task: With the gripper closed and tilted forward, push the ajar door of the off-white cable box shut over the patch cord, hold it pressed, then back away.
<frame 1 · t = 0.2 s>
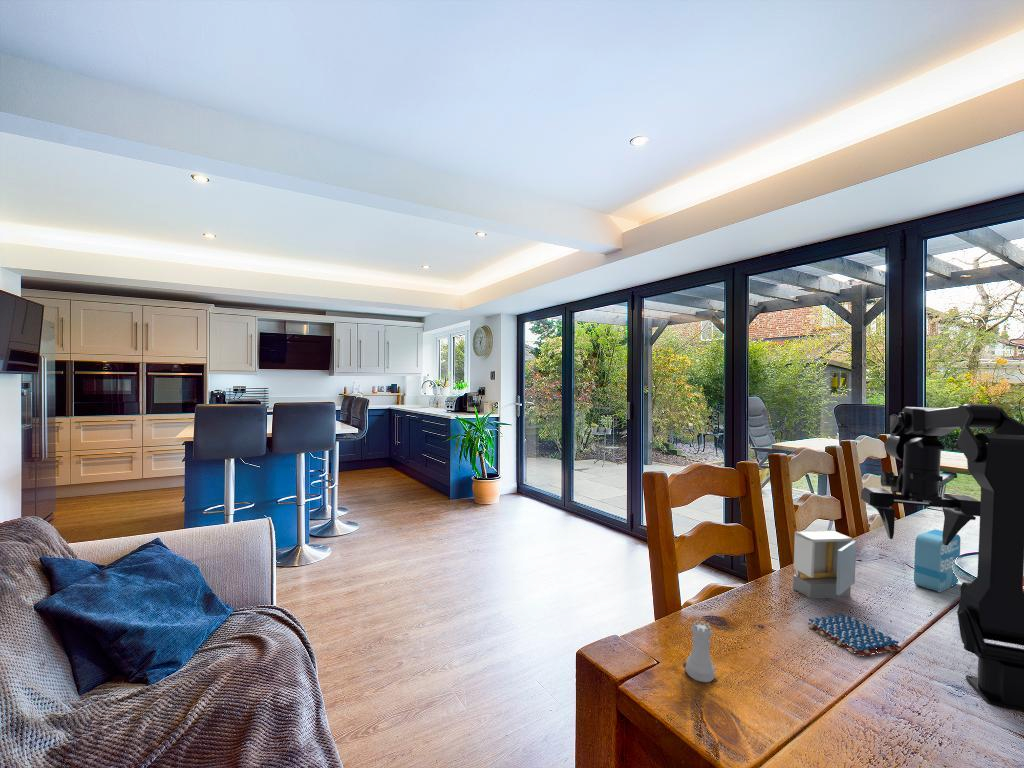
hand: (917, 541, 96), 15 cm above the table, tool pointing down, fingers open, 9 cm apart
box door: (846, 567, 98), point 8 cm above the table, hinge at 30.0°
cable box: (821, 592, 103), on the table
blue carton: (936, 585, 109), on the table
rook chess piece: (700, 675, 73), on the table
woven mat: (852, 641, 85), on the table
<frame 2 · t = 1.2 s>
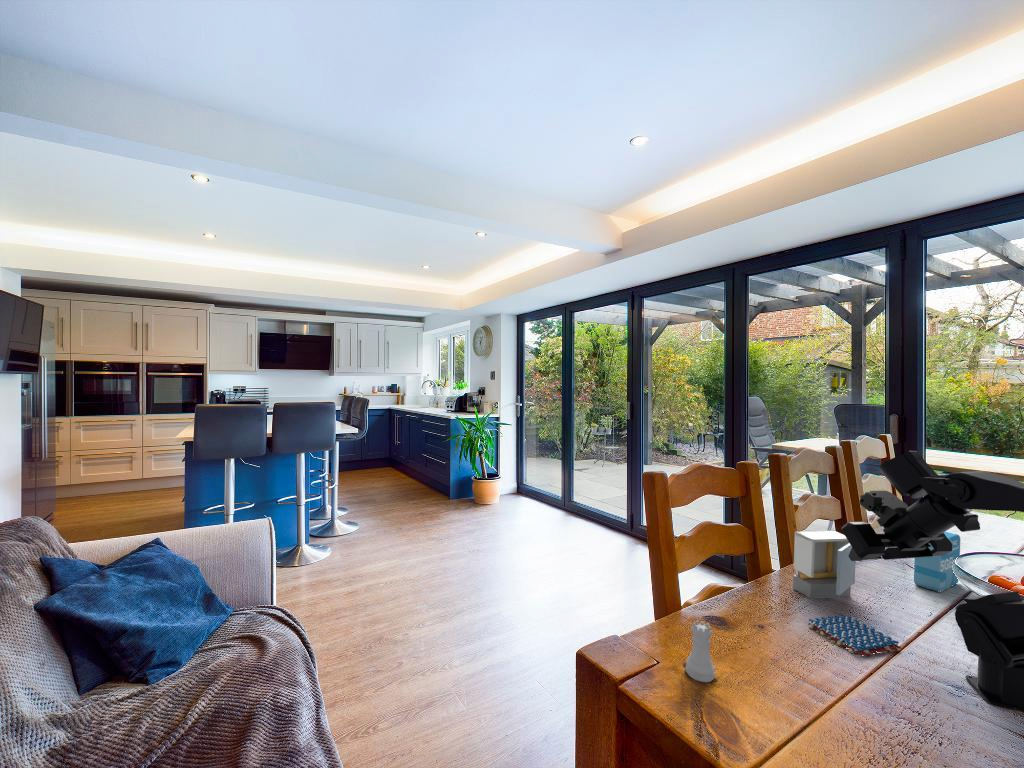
hand: (866, 557, 92), 12 cm above the table, tool tilted 45°, fingers open, 7 cm apart
nothing on the table moved.
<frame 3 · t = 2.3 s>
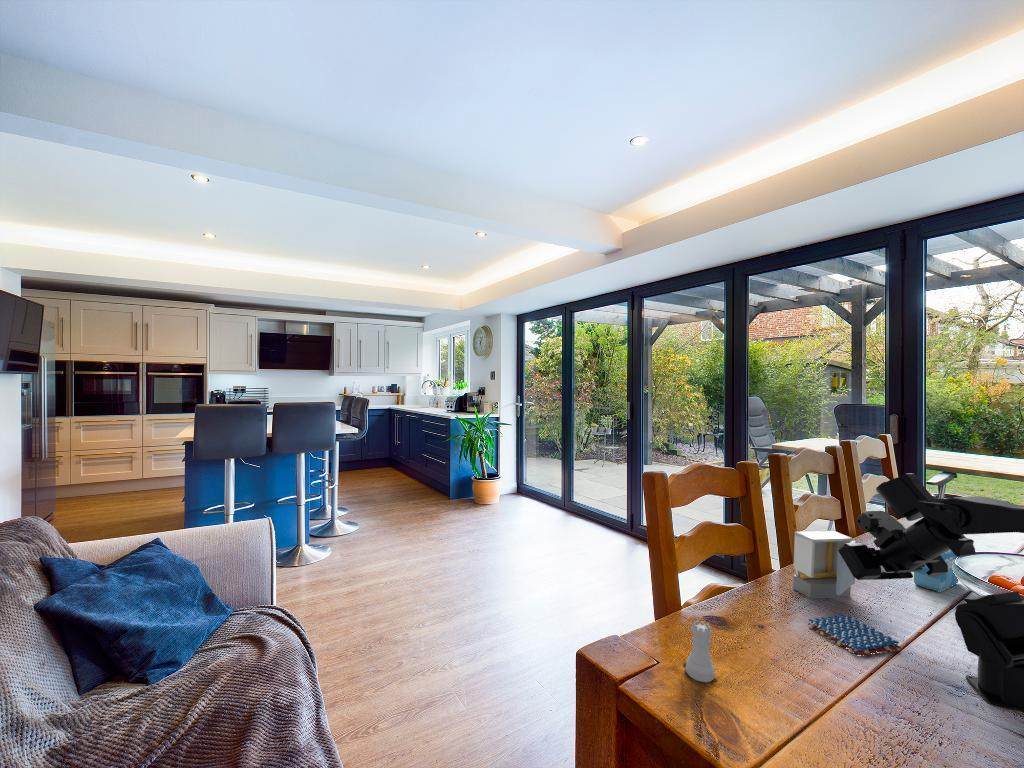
hand: (863, 577, 92), 8 cm above the table, tool tilted 45°, fingers closed
nothing on the table moved.
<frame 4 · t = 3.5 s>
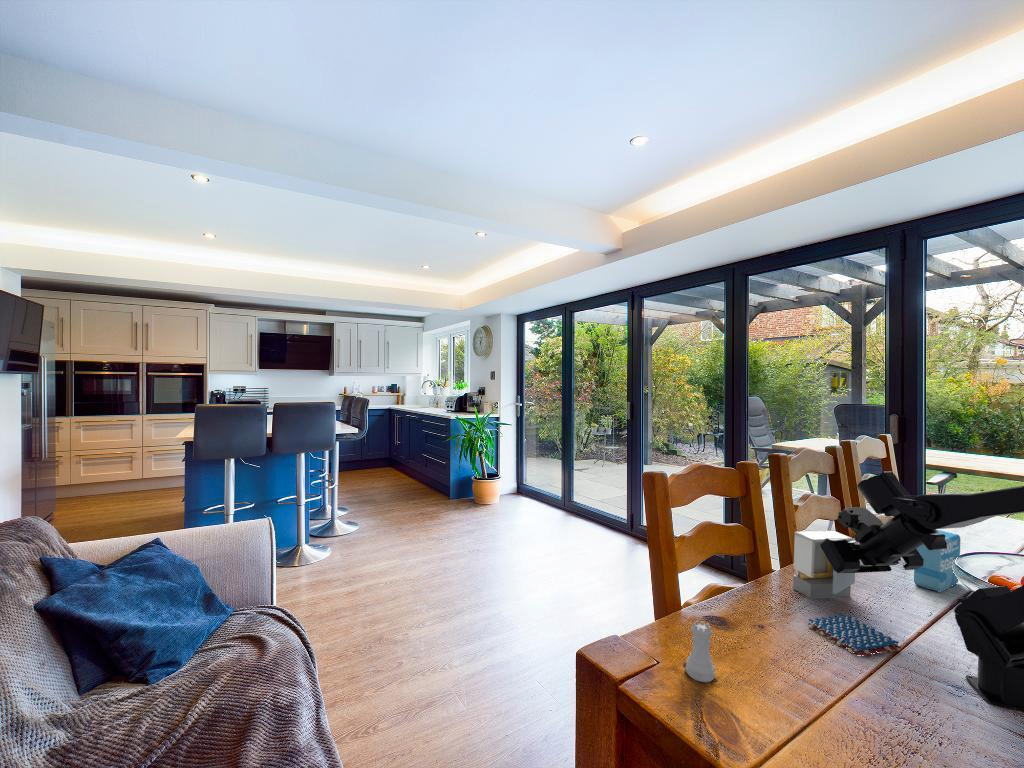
hand: (844, 570, 96), 8 cm above the table, tool tilted 45°, fingers closed
box door: (844, 566, 98), point 8 cm above the table, hinge at 26.2°, touching gripper
everything else where it was.
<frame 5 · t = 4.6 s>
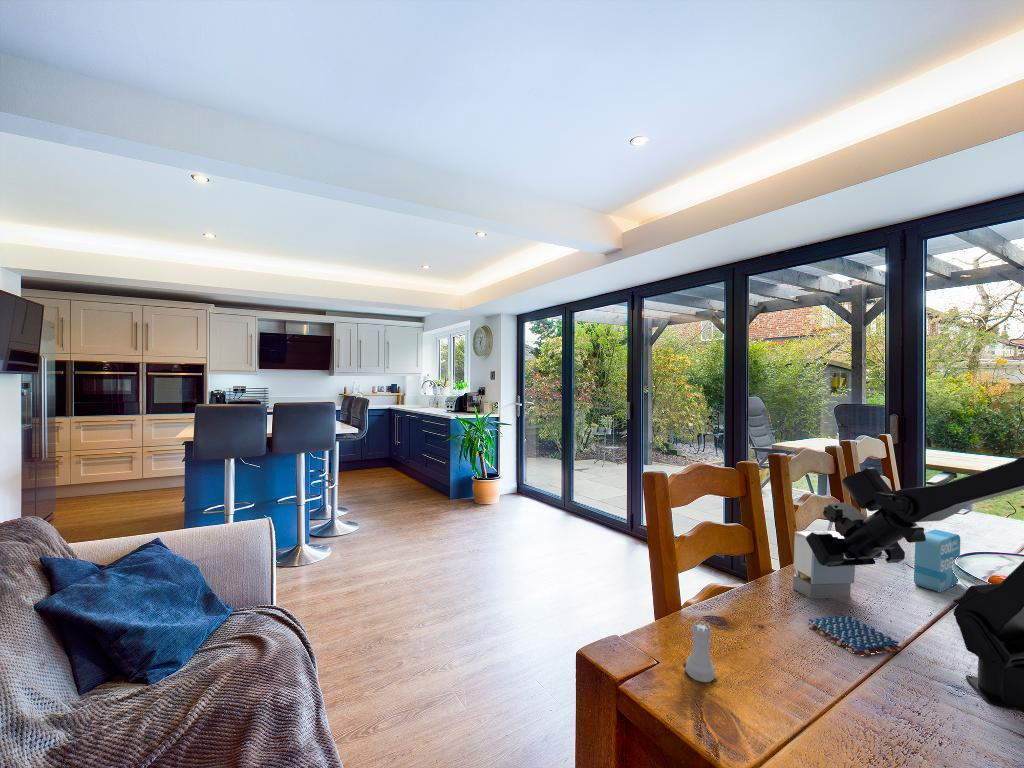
hand: (829, 564, 100), 8 cm above the table, tool tilted 45°, fingers closed, pressing on box door
box door: (833, 562, 100), point 8 cm above the table, hinge at -1.5°, touching cable box, gripper
everything else where it was.
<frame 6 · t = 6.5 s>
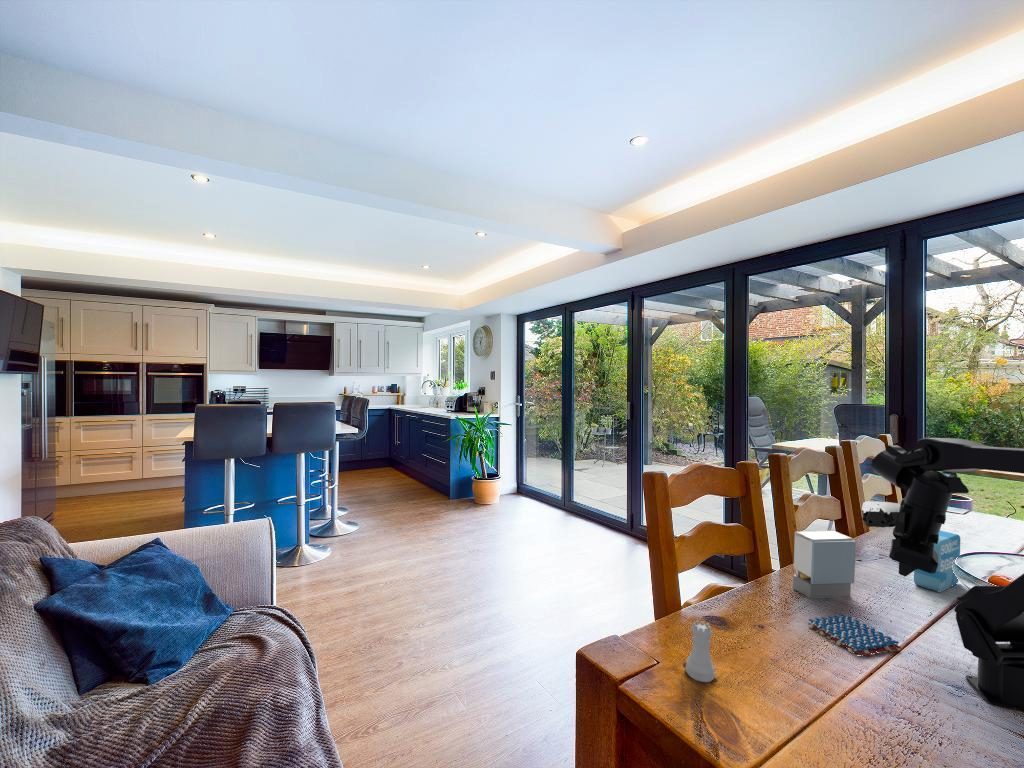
hand: (902, 573, 88), 11 cm above the table, tool tilted 15°, fingers closed
box door: (833, 562, 100), point 8 cm above the table, hinge at -1.5°, touching cable box
everything else where it was.
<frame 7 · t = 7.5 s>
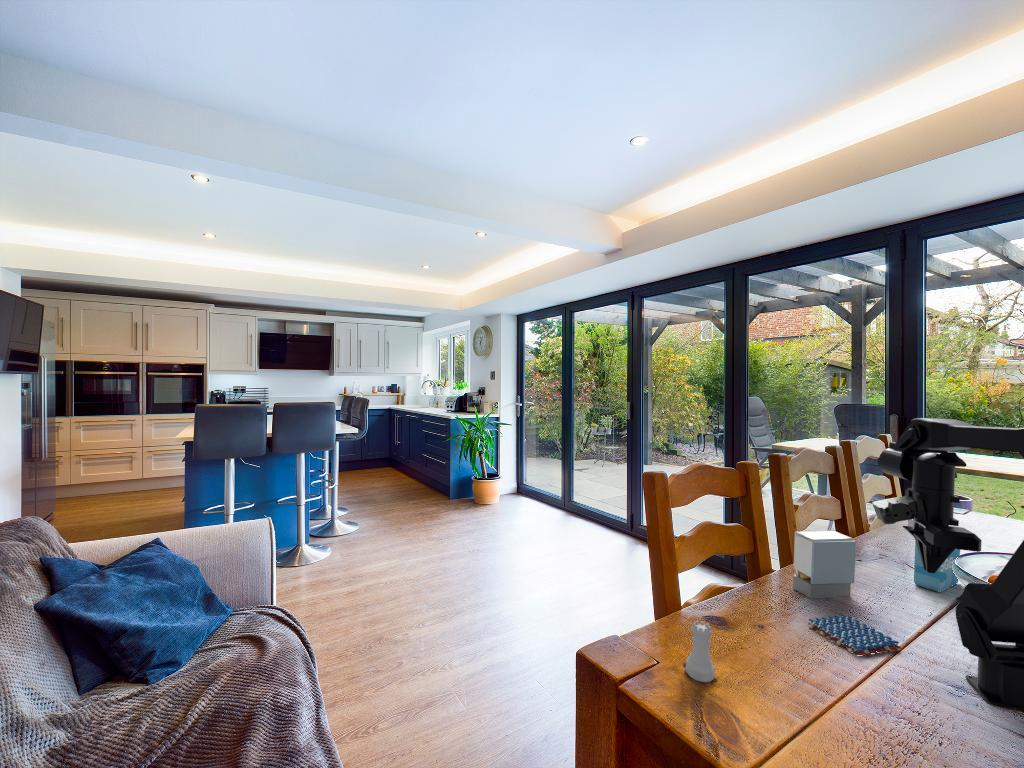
hand: (929, 571, 84), 13 cm above the table, tool pointing down, fingers closed
nothing on the table moved.
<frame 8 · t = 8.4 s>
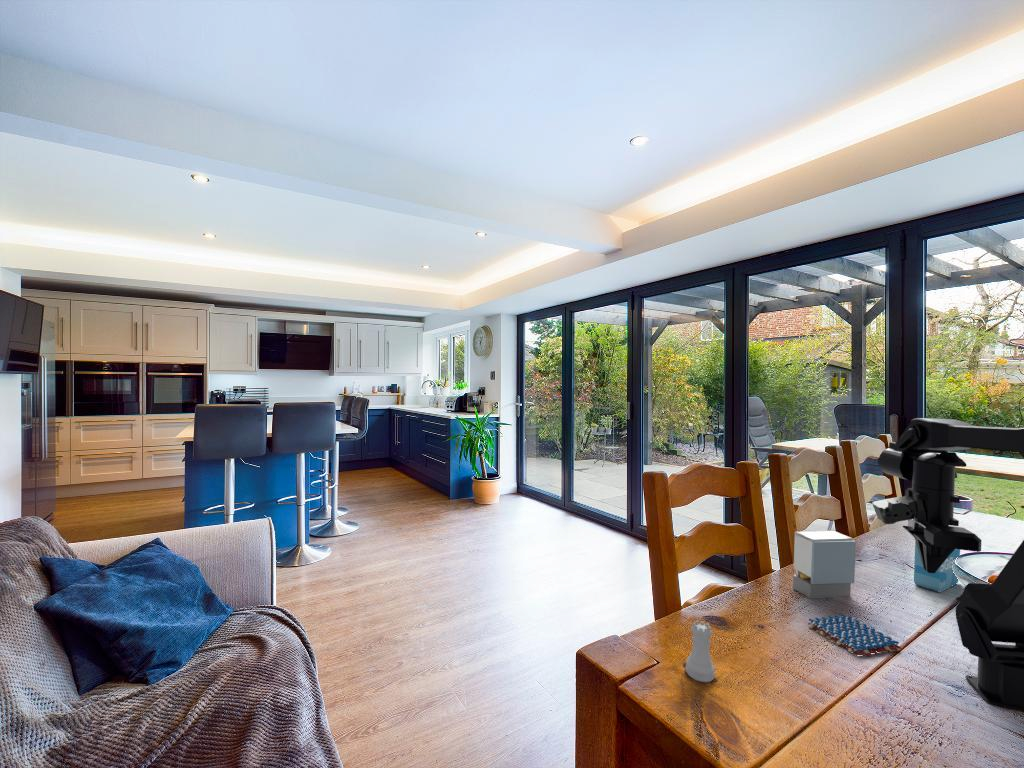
hand: (929, 571, 84), 13 cm above the table, tool pointing down, fingers closed
nothing on the table moved.
at the end: box door at -2° (first picture: +30°) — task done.
